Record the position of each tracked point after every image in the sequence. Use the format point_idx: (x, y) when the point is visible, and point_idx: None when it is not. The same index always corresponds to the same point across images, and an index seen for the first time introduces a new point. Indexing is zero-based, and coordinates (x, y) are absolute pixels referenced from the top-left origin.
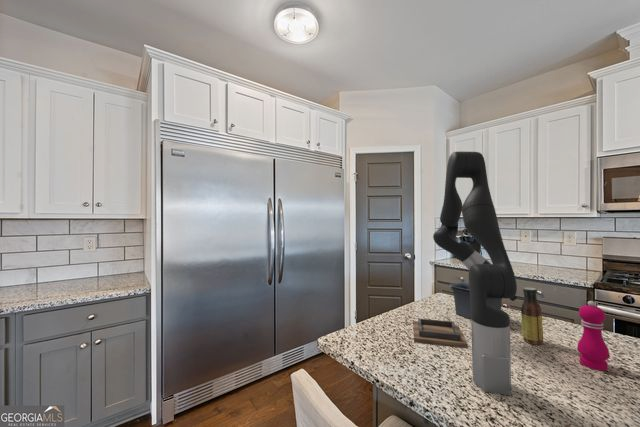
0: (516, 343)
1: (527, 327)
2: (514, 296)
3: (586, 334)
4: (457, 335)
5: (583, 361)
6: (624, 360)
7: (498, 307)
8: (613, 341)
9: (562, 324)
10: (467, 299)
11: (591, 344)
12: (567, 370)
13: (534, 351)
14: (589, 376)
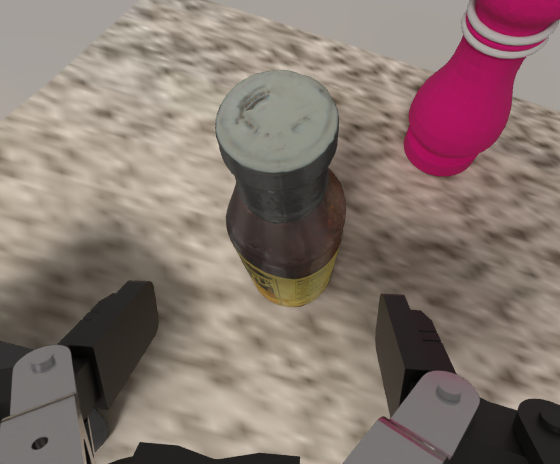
0: (337, 350)
1: (325, 280)
2: (424, 319)
3: (504, 83)
4: None
5: (463, 167)
6: (352, 62)
7: (7, 362)
8: (199, 34)
9: (57, 110)
10: None
11: (509, 102)
12: (534, 236)
13: None
14: (543, 188)
